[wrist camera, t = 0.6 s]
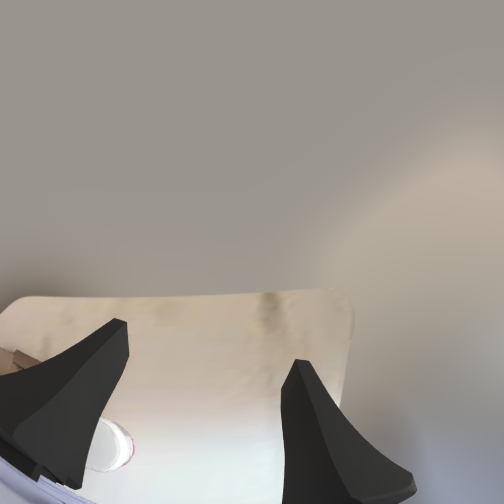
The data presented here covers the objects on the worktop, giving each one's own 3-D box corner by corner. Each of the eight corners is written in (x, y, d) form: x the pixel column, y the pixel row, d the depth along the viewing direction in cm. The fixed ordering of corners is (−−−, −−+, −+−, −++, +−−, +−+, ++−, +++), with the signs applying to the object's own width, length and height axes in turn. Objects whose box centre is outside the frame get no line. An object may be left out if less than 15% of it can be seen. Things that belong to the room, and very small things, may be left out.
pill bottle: (122, 475, 16) (104, 488, 10) (80, 446, 16) (47, 444, 10) (144, 440, 19) (135, 438, 13) (102, 412, 20) (78, 397, 14)
